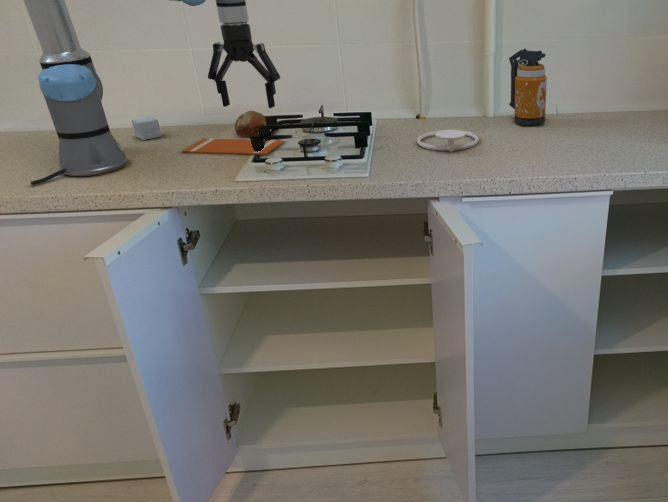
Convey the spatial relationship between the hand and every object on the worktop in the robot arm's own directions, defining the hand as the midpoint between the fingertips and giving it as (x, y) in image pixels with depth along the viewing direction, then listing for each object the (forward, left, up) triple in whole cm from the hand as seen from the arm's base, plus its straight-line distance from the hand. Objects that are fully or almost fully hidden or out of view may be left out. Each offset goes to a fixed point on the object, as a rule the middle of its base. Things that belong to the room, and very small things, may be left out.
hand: (249, 106), depth 189 cm
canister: (+18, -77, -8) cm, 80 cm away
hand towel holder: (-6, -58, -8) cm, 59 cm away
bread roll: (0, 0, -8) cm, 8 cm away
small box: (-6, +30, -8) cm, 31 cm away
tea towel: (-14, 0, -8) cm, 16 cm away
